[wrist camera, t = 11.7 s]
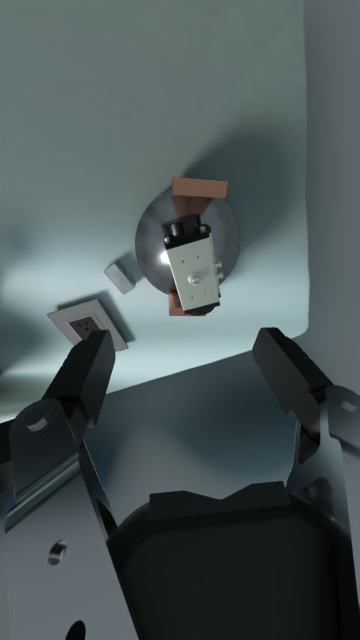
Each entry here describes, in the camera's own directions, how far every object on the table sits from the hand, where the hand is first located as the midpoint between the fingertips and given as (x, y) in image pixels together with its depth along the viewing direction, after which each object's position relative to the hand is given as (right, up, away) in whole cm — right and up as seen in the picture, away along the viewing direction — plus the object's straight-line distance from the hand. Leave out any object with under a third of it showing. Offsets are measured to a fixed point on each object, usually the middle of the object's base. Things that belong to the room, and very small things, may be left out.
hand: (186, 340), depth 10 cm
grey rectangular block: (-11, +9, +22) cm, 27 cm away
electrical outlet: (-19, 0, +29) cm, 34 cm away
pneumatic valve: (+1, +12, +19) cm, 23 cm away
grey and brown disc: (+1, +13, +20) cm, 24 cm away
